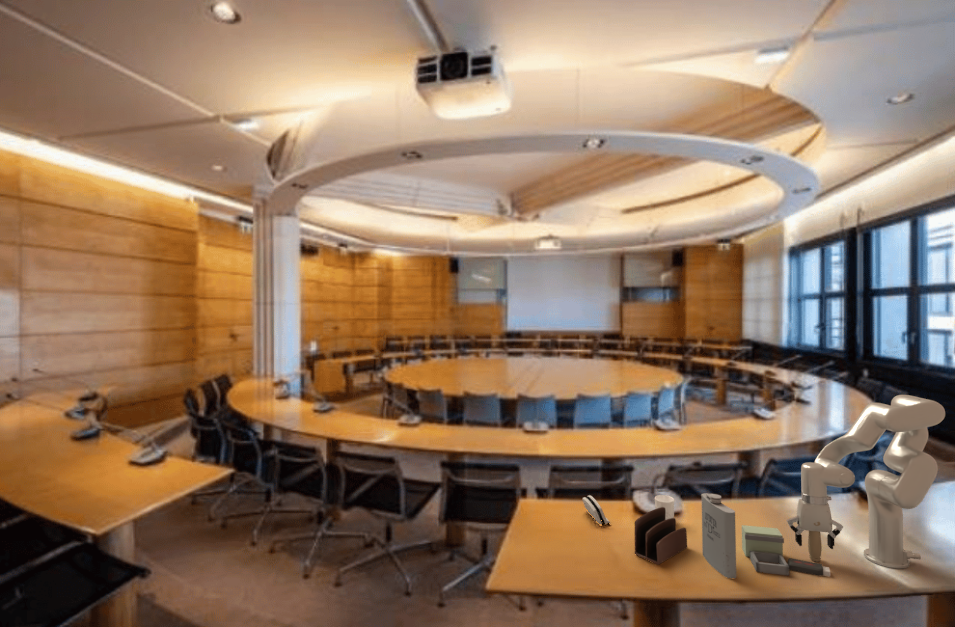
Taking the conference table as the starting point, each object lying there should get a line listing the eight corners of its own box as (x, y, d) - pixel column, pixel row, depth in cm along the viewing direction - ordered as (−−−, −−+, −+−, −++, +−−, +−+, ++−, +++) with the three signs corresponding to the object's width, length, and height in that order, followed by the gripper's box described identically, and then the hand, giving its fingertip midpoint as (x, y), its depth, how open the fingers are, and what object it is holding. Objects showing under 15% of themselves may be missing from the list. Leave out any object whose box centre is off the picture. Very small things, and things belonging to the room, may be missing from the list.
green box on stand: (778, 552, 183) (778, 528, 183) (793, 576, 167) (792, 549, 167) (741, 548, 187) (741, 525, 187) (752, 571, 171) (752, 545, 171)
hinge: (611, 525, 209) (603, 504, 208) (601, 530, 208) (593, 508, 208) (596, 509, 225) (589, 489, 225) (587, 514, 225) (579, 494, 224)
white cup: (676, 520, 212) (676, 497, 212) (672, 527, 206) (672, 503, 206) (657, 516, 217) (657, 493, 216) (653, 523, 210) (652, 500, 210)
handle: (802, 555, 181) (802, 514, 180) (823, 558, 178) (822, 516, 178) (806, 562, 176) (806, 520, 176) (827, 564, 174) (827, 522, 174)
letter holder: (634, 555, 184) (633, 517, 184) (664, 538, 196) (663, 503, 196) (658, 565, 176) (657, 526, 176) (687, 548, 188) (687, 511, 188)
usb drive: (787, 563, 176) (787, 556, 176) (828, 571, 170) (828, 563, 170) (788, 570, 171) (788, 562, 171) (830, 579, 166) (830, 571, 166)
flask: (698, 553, 184) (697, 486, 184) (710, 552, 184) (709, 486, 184) (725, 579, 166) (723, 505, 166) (738, 578, 167) (736, 504, 166)
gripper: (837, 496, 178) (838, 543, 178) (783, 492, 183) (784, 538, 183) (846, 504, 171) (847, 553, 171) (790, 500, 176) (790, 548, 176)
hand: (814, 545), depth 177 cm, fingers open, 9 cm apart
